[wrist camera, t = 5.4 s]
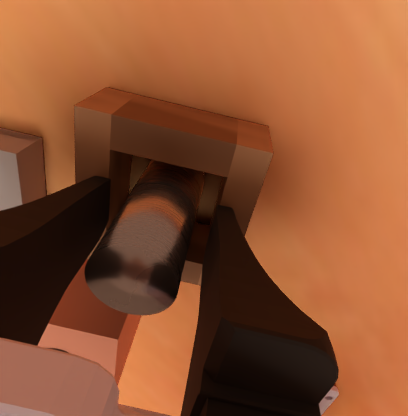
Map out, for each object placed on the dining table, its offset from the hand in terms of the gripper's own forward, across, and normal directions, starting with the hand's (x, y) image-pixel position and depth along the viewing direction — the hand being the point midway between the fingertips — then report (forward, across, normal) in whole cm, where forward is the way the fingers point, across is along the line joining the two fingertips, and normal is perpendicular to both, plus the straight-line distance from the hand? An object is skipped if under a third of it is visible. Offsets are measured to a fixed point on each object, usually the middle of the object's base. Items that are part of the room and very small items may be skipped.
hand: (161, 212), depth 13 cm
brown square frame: (+3, 0, 0) cm, 3 cm away
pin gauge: (+3, 0, 0) cm, 3 cm away
